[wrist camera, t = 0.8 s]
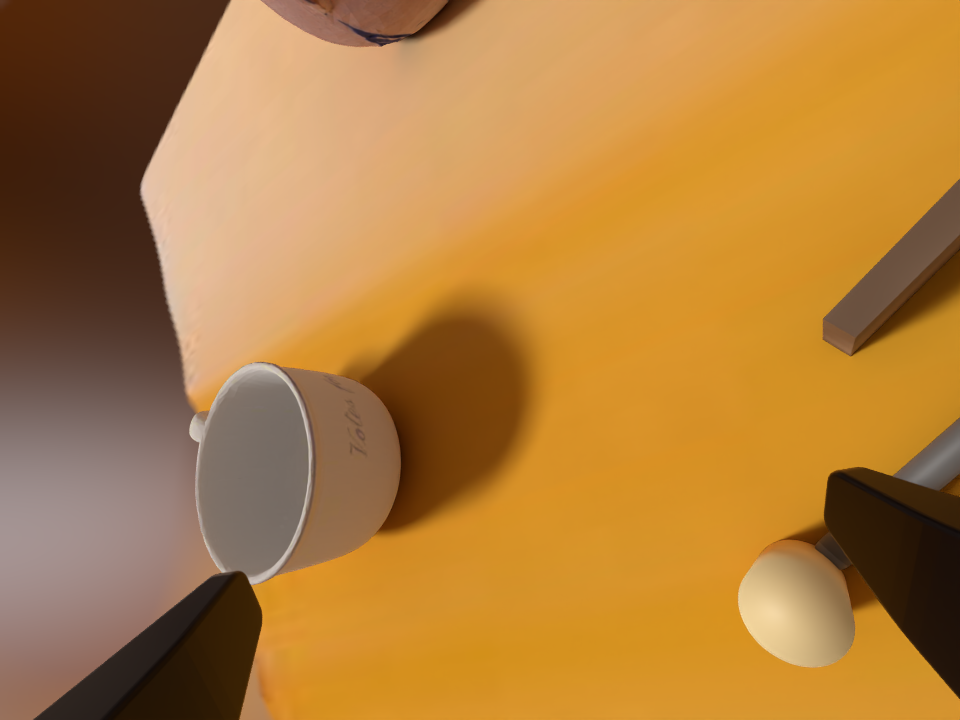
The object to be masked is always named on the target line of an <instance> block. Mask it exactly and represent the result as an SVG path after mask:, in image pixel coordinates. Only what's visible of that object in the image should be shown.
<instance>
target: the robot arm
mask: <svg viewBox="0 0 960 720" xmlns="http://www.w3.org/2000/svg"><path fill="white" fill-rule="evenodd" d="M824 520H825V524H826V526H827V528H828V531H829V532H830V534H831V535H832V537H833V538H834V539H835V541H836V542H837V544H838V545H839V546H840V548H841V549H842V550H843V552H844V553H845V555H846V556H847V557H848V559H849V560H850V561H851V563H852V564H853V566H854V567H855V568H856V570H857V571H858V573H859V574H860V575H861V577H862V578H863V579H864V581H865V582H866V584H867V585H868V586H869V588H870V589H871V590H872V592H873V593H874V595H875V596H876V597H877V599H878V600H879V601H880V603H881V604H882V606H883V607H884V608H885V610H886V611H887V613H888V614H889V615H890V616H891V618H892V619H893V620H894V622H895V623H896V624H897V626H898V627H899V628H900V630H901V631H902V632H903V633H904V634H905V636H906V637H907V638H908V639H909V641H910V642H911V643H912V644H913V645H914V647H915V648H916V649H917V650H918V651H919V652H920V654H921V655H922V656H923V657H924V658H925V659H926V661H927V662H928V663H929V664H930V665H931V666H932V668H933V669H934V670H935V671H936V672H937V673H938V675H939V676H940V677H941V678H942V679H943V680H944V682H945V683H946V684H947V685H948V686H949V687H950V689H951V690H952V691H953V692H954V693H955V694H956V695H957V697H958V698H959V699H960V497H957V496H954V495H950V494H947V493H944V492H941V491H938V490H934V489H931V488H928V487H925V486H922V485H918V484H915V483H912V482H909V481H906V480H902V479H899V478H896V477H893V476H890V475H886V474H883V473H880V472H877V471H874V470H870V469H867V468H863V467H854V468H848V469H842V470H836V471H834V472H832V473H831V474H830V475H829V477H828V481H827V489H826V499H825V508H824ZM261 627H262V610H261V607H260V605H259V602H258V600H257V598H256V596H255V593H254V591H253V589H252V586H251V584H250V582H249V580H248V577H247V576H246V574H245V573H244V572H242V571H231V572H225V573H219V574H215V575H213V576H211V577H210V578H209V579H207V580H206V581H205V582H204V583H202V584H201V585H200V586H199V587H197V588H196V589H195V590H194V591H192V593H190V594H189V595H187V596H186V597H185V598H184V599H182V600H181V601H180V602H179V603H178V604H176V605H175V606H174V607H173V608H171V609H170V610H169V611H168V612H166V613H165V614H164V615H163V616H161V617H160V618H159V619H158V620H156V621H155V622H154V623H153V624H151V625H150V626H149V627H148V628H146V629H145V630H144V631H143V632H141V633H140V634H139V635H138V636H137V637H135V638H134V639H133V640H132V641H131V642H129V643H128V644H127V645H125V646H124V647H123V648H122V649H120V650H119V651H118V652H117V653H115V654H114V655H113V656H112V657H111V658H109V659H108V660H107V661H105V662H104V663H103V664H102V665H100V667H98V668H97V669H95V670H94V671H93V672H92V673H90V674H89V675H88V676H87V677H86V678H84V679H83V680H82V681H81V682H80V683H78V684H77V685H76V686H74V687H73V688H72V689H71V690H69V691H68V692H67V693H66V694H64V695H63V696H62V697H61V698H59V699H58V700H57V701H56V702H54V703H53V704H52V705H51V706H50V707H48V708H47V709H46V710H45V711H43V712H42V713H41V714H40V715H38V716H37V717H36V718H35V719H34V720H239V719H240V715H241V710H242V707H243V702H244V698H245V694H246V689H247V686H248V681H249V677H250V673H251V668H252V665H253V661H254V656H255V652H256V648H257V644H258V640H259V635H260V631H261Z"/></svg>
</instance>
